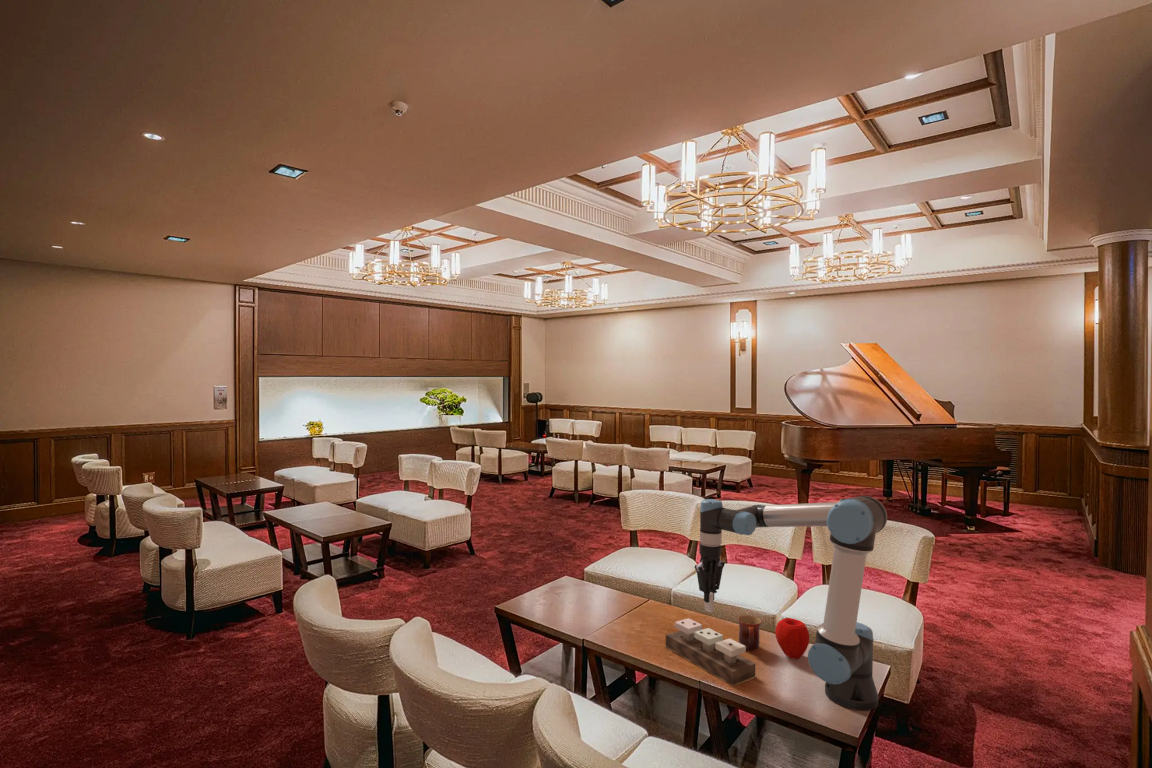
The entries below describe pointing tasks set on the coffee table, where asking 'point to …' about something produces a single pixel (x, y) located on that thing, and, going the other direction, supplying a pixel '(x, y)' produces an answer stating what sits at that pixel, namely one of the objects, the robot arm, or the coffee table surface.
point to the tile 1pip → (730, 649)
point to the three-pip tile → (708, 638)
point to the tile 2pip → (688, 628)
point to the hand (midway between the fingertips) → (708, 610)
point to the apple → (792, 637)
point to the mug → (749, 631)
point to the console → (711, 659)
